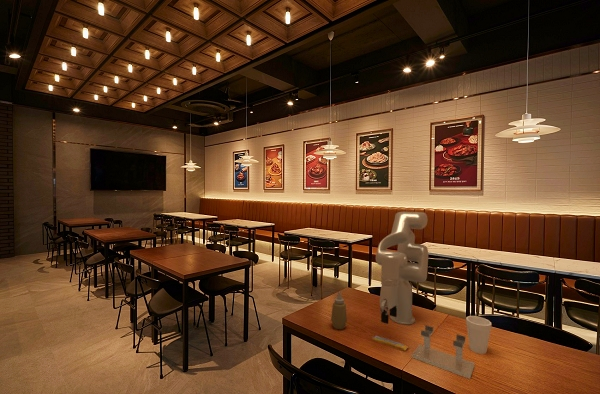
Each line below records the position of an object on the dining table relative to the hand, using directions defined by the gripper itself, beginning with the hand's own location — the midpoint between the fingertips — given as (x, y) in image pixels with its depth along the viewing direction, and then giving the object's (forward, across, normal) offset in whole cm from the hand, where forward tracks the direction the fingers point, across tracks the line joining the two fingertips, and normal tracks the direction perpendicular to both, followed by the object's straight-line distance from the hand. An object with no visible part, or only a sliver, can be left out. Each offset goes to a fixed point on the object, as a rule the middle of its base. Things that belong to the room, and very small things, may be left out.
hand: (388, 319), depth 126 cm
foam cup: (+11, -22, +32) cm, 40 cm away
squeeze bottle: (+12, 0, -26) cm, 29 cm away
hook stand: (+12, -2, +22) cm, 25 cm away
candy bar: (+12, -1, 0) cm, 12 cm away
